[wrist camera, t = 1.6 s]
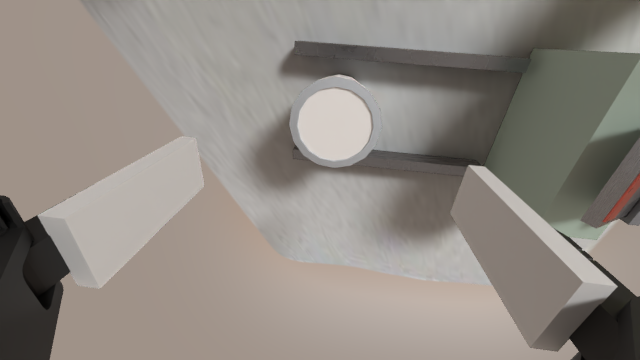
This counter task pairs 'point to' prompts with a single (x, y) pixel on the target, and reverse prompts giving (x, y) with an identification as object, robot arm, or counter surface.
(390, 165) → the guide rails
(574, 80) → the end cabinet
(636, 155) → the grey flat block
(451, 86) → the counter surface
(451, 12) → the counter surface
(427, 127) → the counter surface
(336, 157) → the white tapered cup
